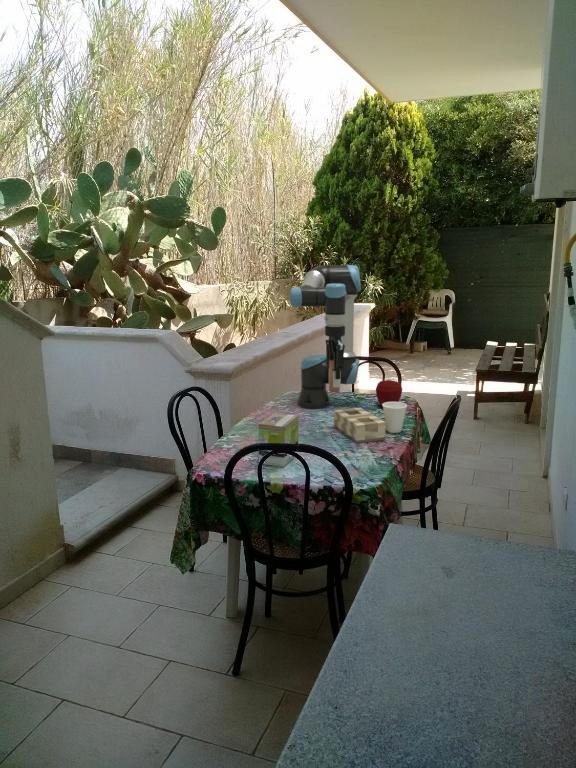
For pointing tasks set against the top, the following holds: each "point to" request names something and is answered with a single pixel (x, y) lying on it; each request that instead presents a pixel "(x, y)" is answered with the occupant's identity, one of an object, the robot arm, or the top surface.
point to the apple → (388, 391)
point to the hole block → (359, 425)
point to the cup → (394, 416)
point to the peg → (331, 388)
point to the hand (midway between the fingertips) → (334, 385)
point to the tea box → (278, 435)
